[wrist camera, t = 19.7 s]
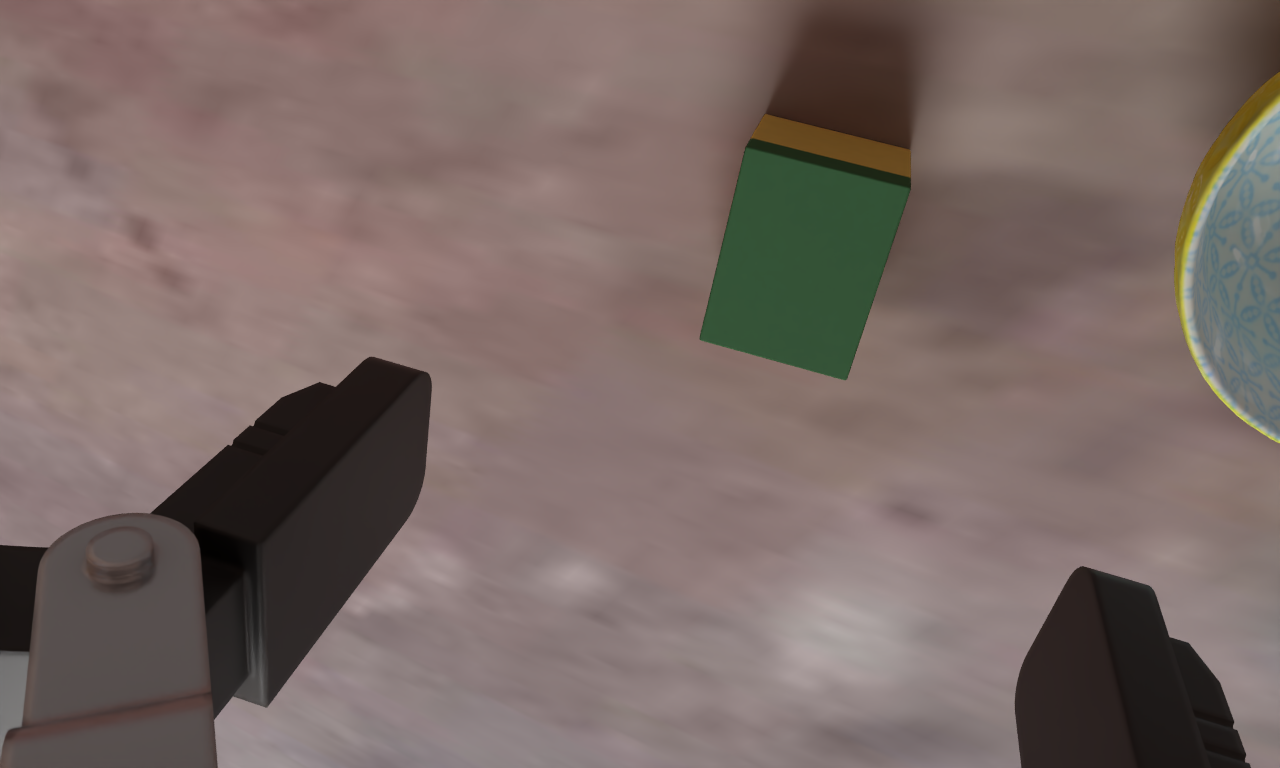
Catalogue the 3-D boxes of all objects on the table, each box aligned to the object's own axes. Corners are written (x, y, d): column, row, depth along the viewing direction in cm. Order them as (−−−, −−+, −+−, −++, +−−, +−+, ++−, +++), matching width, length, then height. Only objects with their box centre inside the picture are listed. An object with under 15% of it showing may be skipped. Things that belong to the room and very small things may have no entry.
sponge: (764, 113, 30) (745, 145, 26) (911, 149, 29) (911, 187, 26) (720, 290, 33) (698, 340, 29) (852, 326, 32) (846, 381, 29)
